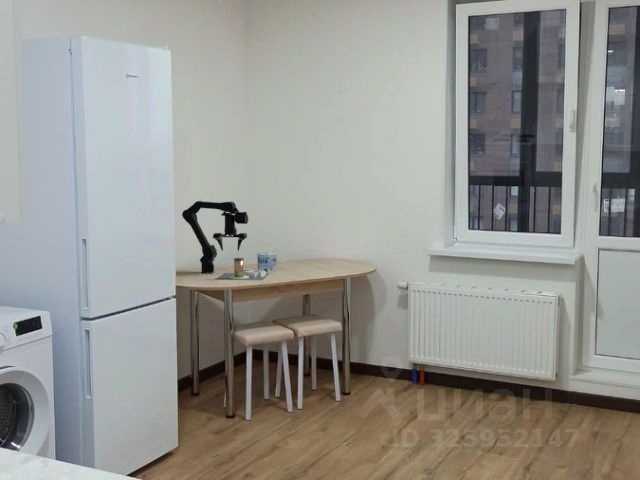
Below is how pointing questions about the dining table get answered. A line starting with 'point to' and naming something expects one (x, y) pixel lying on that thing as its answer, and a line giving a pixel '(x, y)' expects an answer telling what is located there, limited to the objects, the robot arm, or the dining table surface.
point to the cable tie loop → (255, 273)
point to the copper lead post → (238, 267)
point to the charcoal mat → (226, 277)
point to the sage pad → (239, 277)
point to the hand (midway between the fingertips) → (230, 250)
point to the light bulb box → (267, 262)
